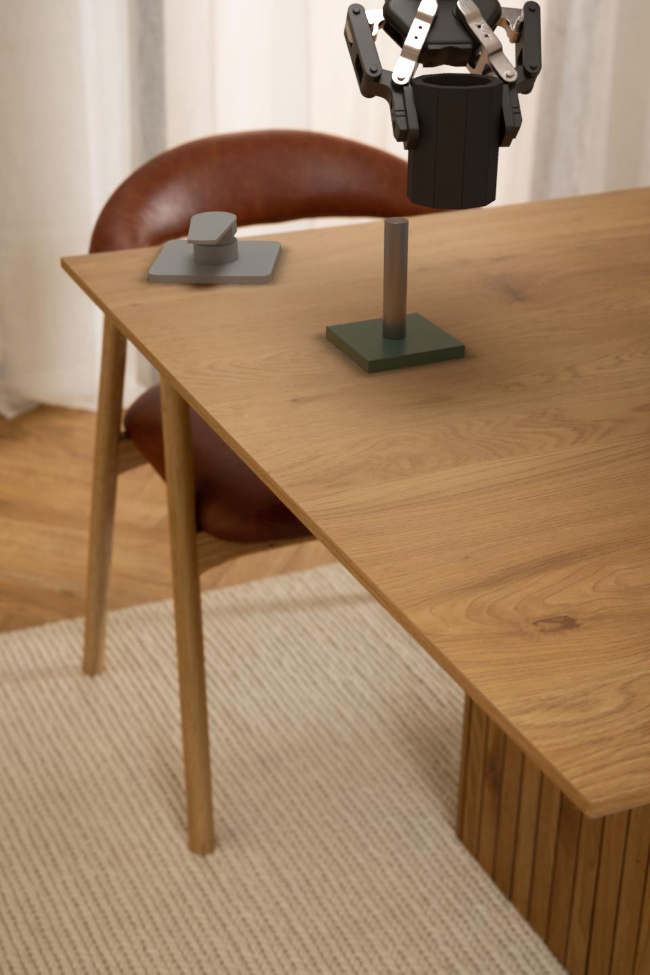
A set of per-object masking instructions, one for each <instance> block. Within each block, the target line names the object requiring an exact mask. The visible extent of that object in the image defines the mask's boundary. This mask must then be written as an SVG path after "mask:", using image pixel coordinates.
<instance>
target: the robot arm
mask: <svg viewBox="0 0 650 975" xmlns="http://www.w3.org/2000/svg"><path fill="white" fill-rule="evenodd" d="M541 12H542V11H541V5H540V4H539V3H538V2H537V1H534V0H527V1H526V2H525V3H524V4H523V7H522V8H517V7H507V6H502V5H501V3H500V1H499V0H384V3H383V4H382V8H376V9H370V10H366V8H365V7H364V5H363V4H361V3H358V2H357V3H356V2H355V3H351V4H350V5H349V6H348V7H347V12H346V17H345V24H344V29H343V37H344V40H345V44H346V47H347V50H348V54H349V58H350V61H351V65H352V68H353V72H354V74H355V78H356V82H357V85H358V89H359V93H360V94H361V96H362V97H364V98H366V99H373V98H376V97H378V98H382V99H383V100H385V101H386V102H387V103H388V107H389V114H390V121H391V128H392V136H393V138H394V139H395V141H396V143H402V145H403V150H404V151H408V150H415V149H416V145H417V142H418V139H419V124H418V117H417V110H416V105H415V101H414V93H413V86H410V79H413V78H415V75H416V73H417V70H418V69H419V66H420V65H421V66H422V68H424V69H425V68H426V69H427V68H428V69H429V68H437V67H441V66H449V67H453V68H454V67H455V68H466V69H467V71H468V73H472V74H480V75H487V76H493V77H497V78H498V79H500V80H502V81H503V95H502V108H501V123H500V139H499V148H510V147H511V145H512V143H513V140H516V139H517V136H518V134H519V132H520V130H521V127H522V124H523V115H522V110H521V104H520V97H519V94H521V95H527V96H528V95H530V94H532V91H533V90H534V87H535V83H536V81H537V78H538V76H539V75H540V73H541V70H542V69H543V63H542V62H543V59H542V58H543V57H542V53H543V52H542V15H541V14H542V13H541ZM498 27H500V28H503V30H504V31H505V33H506V36H507V38H508V40H509V41H508V42H509V43H510V44H512V45H513V44H514V57H515V58H514V61H515V64H514V65H515V67H514V65H513V64H512V62H511V61H510V60H509V58H508V57H507V56H506V55H505V53H504V49H503V44H502V42H501V40H500V39H499V37H498V36H497V35H496V34H495V30H497V28H498ZM380 30H383V31H384V33H385V34H386V35H387V36H388V37H389V38H390V39H391V40H392V41H393V42H394V43H395V44H396V45H397V46H398V47H399V48H400V49H401V51H400V54H399V57H398V58H397V62H396V64H395V66H394V68H393V71H392V70H389V69H384V68H383V65H382V63H381V59H380V55H379V53H378V48H377V46H376V41H377V39H378V34H379V31H380Z"/></svg>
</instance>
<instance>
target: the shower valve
mask: <svg viewBox="0 0 650 975" xmlns="http://www.w3.org/2000/svg"><path fill="white" fill-rule="evenodd" d="M237 217H238V216H237V215H236V214H234V213H232V212H227V211H218V210H217V211H206V212H199V213H196V214H194V215H192V216H191V218H190V223H189V228H188V234H187V239H172V240H169V241H167V242H166V244H165V245H164V247H163V248H162V249H161V251H160V253H159V255H158V256H157V257H156V259H155V261H154V262H153V263H152V265H151V266H150V268H149V270H148V271H147V272H148V281H149V282H151V283H155V284H208V285H209V284H210V285H212V284H213V285H217V284H218V285H219V284H220V285H267V284H269V283H271V282H272V279H273V276H274V274H275V271H276V269H277V268H276V267H277V265H278V262H279V259H280V257H281V254H282V243H281V242H280V241H277V240H238V238H237V237H236V236H235V235H236V234H237V232H238V220H237V219H238V218H237Z"/></svg>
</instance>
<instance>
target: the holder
mask: <svg viewBox="0 0 650 975" xmlns="http://www.w3.org/2000/svg"><path fill="white" fill-rule="evenodd" d="M383 222H384V225H383V231H384V232H383V278H382V279H383V281H382V285H383V286H382V287H383V288H382V291H383V292H382V295H383V296H382V317H379V318H372V319H366V320H359V321H352V322H346V323H340V324H333V325H332V324H331V325H326V326H325V339H327V341H329V343H331V344H333V346H335V347H336V348H337V349H338V350H339V351H341V352H342V353H343V354H344V355H345V356H347V357H348V358H349V359H350V360H351V361H353V362H354V363H355V364H356V365H357V366H359V367H360V368H361V369H362V370H364V371H365V372H366V373H367V374H373V373H379V372H384V371H391V370H396V369H402V368H409V367H415V366H419V365H426V364H431V363H438V362H443V361H448V360H449V361H450V360H454V359H455V360H456V359H462V358H465V357H466V344H464V343H463V342H461V341H460V340H459V339H457V338H455V337H454V336H453V335H451V334H450V333H448V332H447V331H445V330H444V329H442V328H441V327H440V326H438V325H437V324H435V323H433V322H432V321H430V320H429V319H428V318H426V317H425V316H423V315H421V313H419V312H411V313H407V305H408V304H407V302H408V301H407V300H408V264H409V263H408V262H409V228H410V227H409V226H410V223H409V222H410V221H409V219H408V218H406V217H402V216H391V217H386V218H385V219H384V220H383Z"/></svg>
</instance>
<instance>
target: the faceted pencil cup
mask: <svg viewBox="0 0 650 975" xmlns="http://www.w3.org/2000/svg"><path fill="white" fill-rule="evenodd" d="M410 86H413V93H414V101H415V105H416V110H417V117H418V124H419V139H418V142H417V145H416V149H415V150H407V170H406V172H407V173H406V176H407V177H406V178H407V179H406V198H407V199H408V200H409V201H410V202H411V204H414V205H417V206H421V207H425V208H428V209H429V208H430V209H437V210H469V209H471V210H472V209H477V208H483V207H487V206H489V205H491V204H492V203H493V202H495V201H496V199H497V185H498V184H497V183H498V168H499V156H500V155H499V154H500V147H499V139H500V123H501V108H502V95H503V81H502V80H500V79H498V78H497V77H493V76H487V75H480V74H472V73H470V72H468V73H467V72H465V73H464V72H442V73H439V72H438V73H430V74H429V73H428V74H421V75H418V76H414V78H413V79H410Z"/></svg>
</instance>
